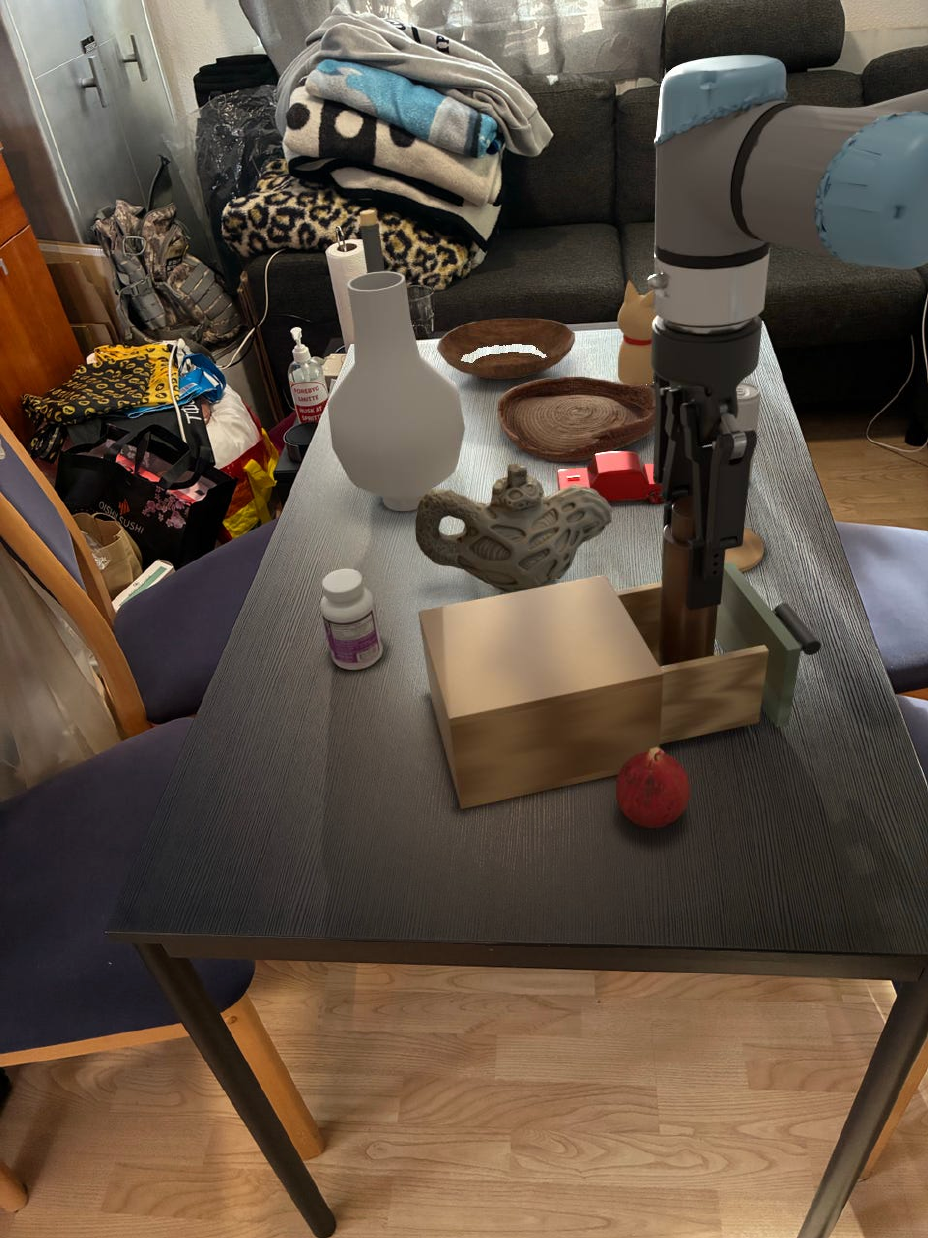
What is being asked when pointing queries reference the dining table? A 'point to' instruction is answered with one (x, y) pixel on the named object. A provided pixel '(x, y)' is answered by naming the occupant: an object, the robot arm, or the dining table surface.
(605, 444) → the basket
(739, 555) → the coaster
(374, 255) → the wine bottle
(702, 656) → the pepper mill
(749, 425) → the beverage can
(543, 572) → the teapot
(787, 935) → the dining table surface
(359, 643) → the pill bottle
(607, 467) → the toy car
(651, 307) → the figurine
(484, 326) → the bowl
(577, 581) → the cabinet
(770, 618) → the drawer
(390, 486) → the vase
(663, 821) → the red pomegranate
